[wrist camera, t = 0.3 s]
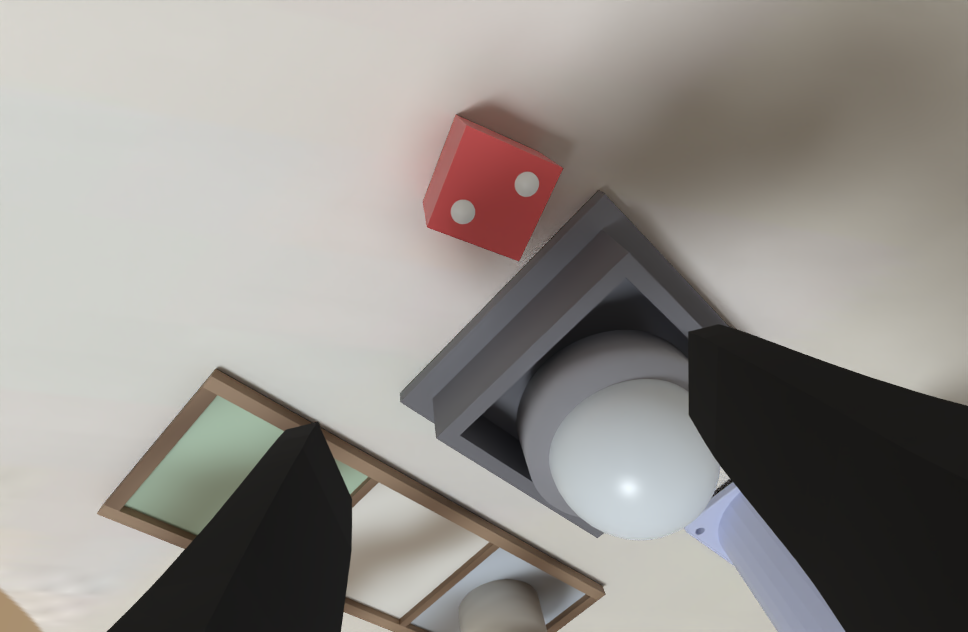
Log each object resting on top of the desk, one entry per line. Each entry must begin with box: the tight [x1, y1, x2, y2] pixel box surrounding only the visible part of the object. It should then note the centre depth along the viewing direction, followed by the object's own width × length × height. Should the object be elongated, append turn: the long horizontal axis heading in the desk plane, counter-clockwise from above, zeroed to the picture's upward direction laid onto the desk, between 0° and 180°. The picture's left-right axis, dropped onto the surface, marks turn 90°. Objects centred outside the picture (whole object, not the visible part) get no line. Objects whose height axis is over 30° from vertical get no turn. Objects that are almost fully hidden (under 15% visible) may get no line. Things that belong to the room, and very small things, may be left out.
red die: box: [423, 115, 563, 261], centre depth 16 cm, size 3×3×3 cm
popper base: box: [400, 190, 729, 538], centre depth 20 cm, size 11×11×3 cm
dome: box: [516, 330, 720, 540], centre depth 17 cm, size 7×7×6 cm
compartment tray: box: [97, 369, 605, 632], centre depth 24 cm, size 23×8×1 cm, turn 46°
